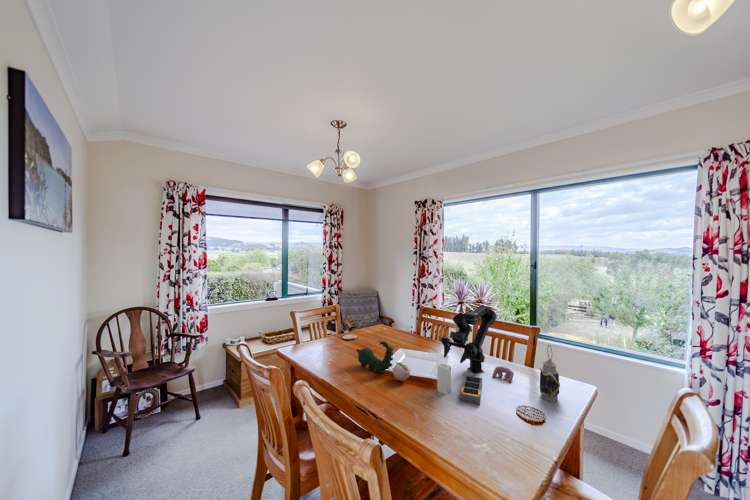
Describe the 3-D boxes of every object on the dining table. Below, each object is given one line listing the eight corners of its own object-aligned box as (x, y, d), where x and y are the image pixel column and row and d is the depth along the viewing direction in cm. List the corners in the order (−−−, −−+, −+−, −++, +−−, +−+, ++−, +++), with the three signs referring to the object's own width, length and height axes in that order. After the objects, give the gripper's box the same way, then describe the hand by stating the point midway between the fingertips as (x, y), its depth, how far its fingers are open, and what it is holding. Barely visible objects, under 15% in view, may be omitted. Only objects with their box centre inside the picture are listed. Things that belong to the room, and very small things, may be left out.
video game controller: (513, 383, 149) (515, 370, 151) (510, 382, 146) (512, 368, 148) (494, 377, 156) (496, 364, 158) (491, 376, 153) (493, 363, 155)
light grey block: (441, 388, 141) (441, 363, 141) (450, 391, 138) (450, 366, 137) (437, 391, 138) (437, 365, 138) (446, 395, 135) (446, 369, 135)
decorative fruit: (389, 381, 149) (389, 362, 148) (398, 375, 155) (398, 357, 154) (403, 387, 142) (403, 367, 142) (412, 381, 148) (412, 362, 148)
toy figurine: (394, 374, 160) (359, 360, 174) (397, 342, 159) (362, 330, 173) (385, 380, 152) (350, 365, 167) (388, 346, 151) (352, 334, 165)
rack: (464, 381, 148) (464, 374, 148) (482, 384, 145) (482, 377, 145) (460, 401, 129) (460, 392, 129) (480, 405, 126) (480, 396, 126)
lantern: (537, 392, 138) (538, 341, 137) (556, 394, 135) (556, 343, 135) (542, 401, 129) (543, 347, 129) (562, 404, 127) (563, 349, 127)
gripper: (442, 321, 153) (430, 347, 146) (474, 329, 140) (463, 357, 133) (449, 333, 159) (438, 358, 151) (481, 341, 146) (471, 368, 138)
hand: (452, 360), depth 143 cm, fingers open, 9 cm apart
